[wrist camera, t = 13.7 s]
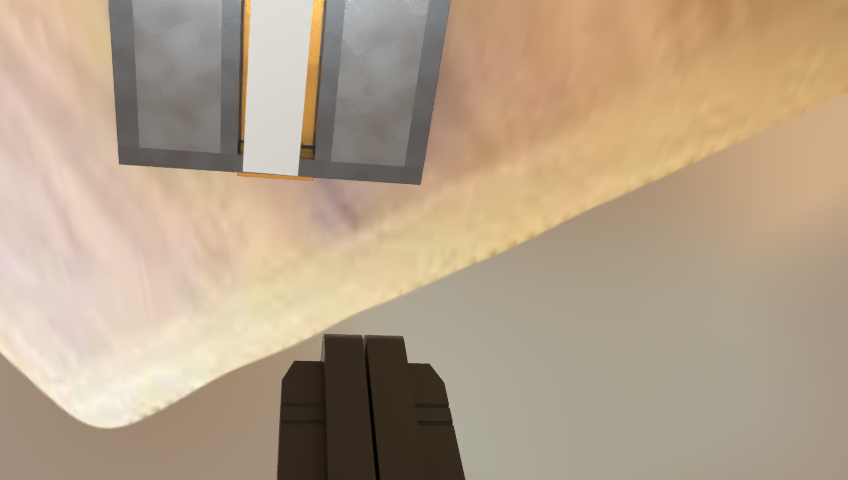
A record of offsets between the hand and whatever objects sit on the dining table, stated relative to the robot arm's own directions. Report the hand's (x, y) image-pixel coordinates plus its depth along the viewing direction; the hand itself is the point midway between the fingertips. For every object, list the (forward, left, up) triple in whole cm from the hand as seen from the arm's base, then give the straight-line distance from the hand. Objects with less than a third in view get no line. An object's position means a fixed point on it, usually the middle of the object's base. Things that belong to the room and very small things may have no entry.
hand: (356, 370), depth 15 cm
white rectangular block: (+2, +5, -34) cm, 34 cm away
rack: (+2, +5, -34) cm, 35 cm away
